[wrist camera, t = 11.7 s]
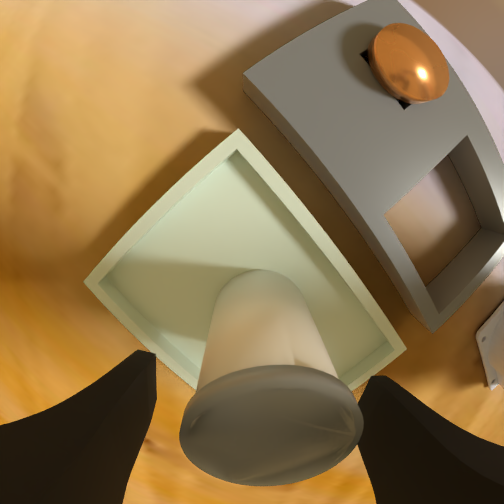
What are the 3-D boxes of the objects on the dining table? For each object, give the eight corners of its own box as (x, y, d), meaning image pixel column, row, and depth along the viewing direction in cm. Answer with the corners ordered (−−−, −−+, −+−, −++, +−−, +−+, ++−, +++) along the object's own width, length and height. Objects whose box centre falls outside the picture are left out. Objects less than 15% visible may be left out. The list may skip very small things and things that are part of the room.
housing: (498, 220, 14) (524, 227, 11) (411, 313, 15) (432, 333, 13) (370, 12, 11) (388, -9, 8) (243, 90, 12) (242, 73, 9)
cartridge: (321, 277, 14) (394, 387, 6) (293, 359, 15) (322, 486, 7) (220, 255, 13) (189, 362, 5) (203, 343, 14) (174, 474, 7)
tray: (395, 335, 15) (407, 349, 14) (265, 423, 17) (267, 440, 15) (239, 133, 12) (238, 128, 11) (97, 271, 14) (83, 281, 12)
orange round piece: (421, 93, 12) (461, 79, 8) (380, 126, 12) (418, 115, 9) (379, 40, 11) (410, 13, 8) (333, 68, 11) (359, 40, 8)
